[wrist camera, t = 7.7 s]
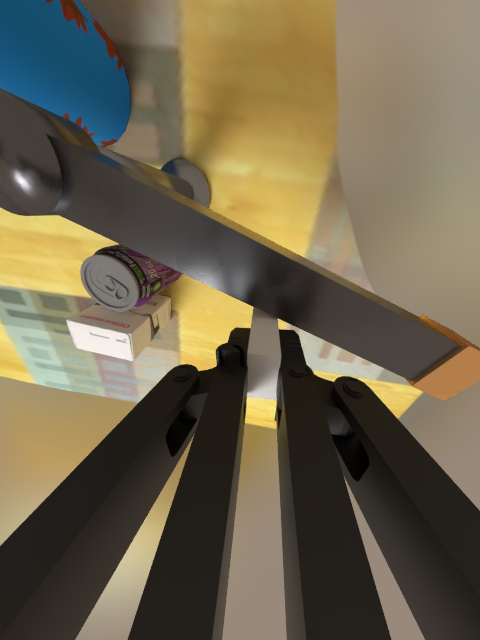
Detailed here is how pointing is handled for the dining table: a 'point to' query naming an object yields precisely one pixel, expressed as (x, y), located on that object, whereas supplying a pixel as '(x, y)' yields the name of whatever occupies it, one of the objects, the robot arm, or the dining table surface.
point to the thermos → (64, 65)
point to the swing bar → (216, 249)
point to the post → (171, 176)
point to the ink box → (120, 328)
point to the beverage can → (124, 277)
